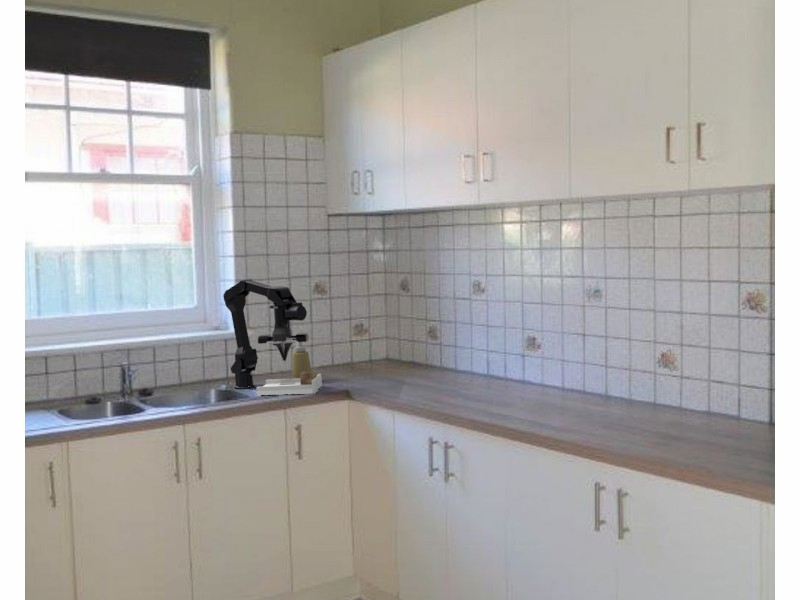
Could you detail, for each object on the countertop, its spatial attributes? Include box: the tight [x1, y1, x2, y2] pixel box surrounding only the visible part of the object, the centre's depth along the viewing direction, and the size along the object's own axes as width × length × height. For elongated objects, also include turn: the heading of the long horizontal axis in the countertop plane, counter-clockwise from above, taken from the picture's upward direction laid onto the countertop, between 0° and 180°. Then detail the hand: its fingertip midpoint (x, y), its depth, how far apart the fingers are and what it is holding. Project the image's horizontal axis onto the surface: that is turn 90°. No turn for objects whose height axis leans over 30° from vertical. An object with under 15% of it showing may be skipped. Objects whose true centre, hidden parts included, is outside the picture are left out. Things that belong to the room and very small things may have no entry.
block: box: [300, 370, 317, 385], centre depth 331 cm, size 5×5×5 cm
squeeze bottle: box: [291, 341, 312, 379], centre depth 351 cm, size 8×8×18 cm
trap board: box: [256, 373, 323, 397], centre depth 332 cm, size 22×16×5 cm
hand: (284, 360), depth 332 cm, fingers closed
